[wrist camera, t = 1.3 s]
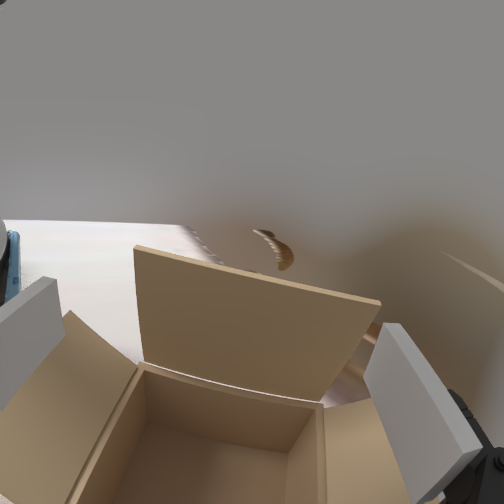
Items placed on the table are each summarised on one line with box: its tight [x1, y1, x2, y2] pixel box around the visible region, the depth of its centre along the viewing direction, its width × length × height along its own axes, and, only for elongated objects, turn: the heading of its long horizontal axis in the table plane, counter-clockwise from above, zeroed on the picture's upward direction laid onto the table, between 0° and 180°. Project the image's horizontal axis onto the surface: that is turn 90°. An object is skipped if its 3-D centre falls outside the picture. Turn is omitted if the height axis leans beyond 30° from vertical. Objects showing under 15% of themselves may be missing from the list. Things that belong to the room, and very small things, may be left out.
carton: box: [0, 310, 440, 504], centre depth 23 cm, size 25×40×17 cm, turn 84°
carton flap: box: [133, 245, 381, 401], centre depth 29 cm, size 16×21×1 cm
